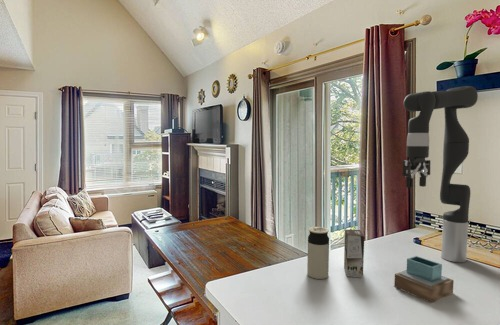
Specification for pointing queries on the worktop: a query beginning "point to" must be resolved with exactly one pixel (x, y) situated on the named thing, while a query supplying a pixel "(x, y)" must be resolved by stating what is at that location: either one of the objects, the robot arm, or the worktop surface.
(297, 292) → the worktop surface
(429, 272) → the box
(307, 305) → the worktop surface
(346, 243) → the coffee box
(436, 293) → the stand
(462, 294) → the worktop surface
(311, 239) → the travel mug
